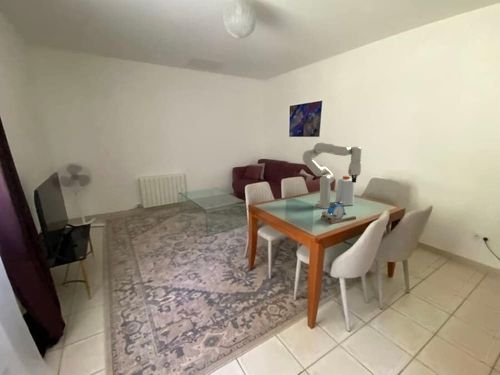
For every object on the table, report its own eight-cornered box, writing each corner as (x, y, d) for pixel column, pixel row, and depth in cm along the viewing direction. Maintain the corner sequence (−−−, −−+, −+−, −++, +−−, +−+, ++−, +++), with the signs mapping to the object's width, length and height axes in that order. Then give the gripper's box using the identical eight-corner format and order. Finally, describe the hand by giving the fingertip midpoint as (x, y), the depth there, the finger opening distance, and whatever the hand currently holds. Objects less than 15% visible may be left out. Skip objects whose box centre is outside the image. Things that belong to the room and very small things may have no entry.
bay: (323, 218, 188) (323, 215, 187) (344, 214, 195) (344, 212, 195) (334, 223, 176) (334, 221, 175) (355, 219, 183) (356, 216, 183)
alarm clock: (331, 221, 179) (332, 204, 176) (326, 219, 185) (327, 202, 181) (344, 219, 184) (345, 201, 181) (338, 216, 190) (339, 199, 186)
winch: (319, 218, 186) (320, 209, 184) (324, 217, 188) (325, 209, 186) (333, 225, 172) (333, 215, 170) (338, 224, 174) (338, 214, 172)
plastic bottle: (355, 205, 217) (357, 177, 211) (339, 206, 218) (341, 177, 211) (348, 201, 232) (350, 174, 226) (334, 201, 232) (335, 175, 226)
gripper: (358, 160, 197) (356, 180, 201) (345, 161, 192) (343, 182, 196) (365, 161, 190) (363, 182, 194) (352, 162, 185) (350, 184, 189)
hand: (353, 182), depth 195 cm, fingers closed
